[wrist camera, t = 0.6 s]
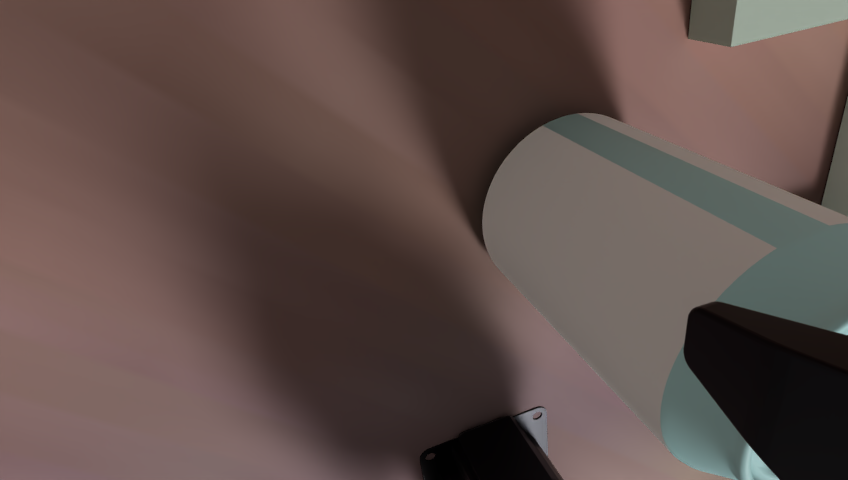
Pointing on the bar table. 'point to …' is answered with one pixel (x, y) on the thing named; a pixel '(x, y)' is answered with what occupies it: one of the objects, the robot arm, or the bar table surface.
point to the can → (658, 265)
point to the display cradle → (768, 17)
